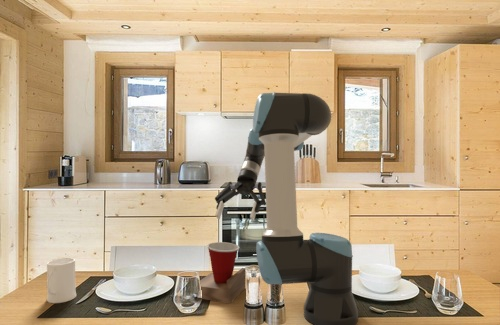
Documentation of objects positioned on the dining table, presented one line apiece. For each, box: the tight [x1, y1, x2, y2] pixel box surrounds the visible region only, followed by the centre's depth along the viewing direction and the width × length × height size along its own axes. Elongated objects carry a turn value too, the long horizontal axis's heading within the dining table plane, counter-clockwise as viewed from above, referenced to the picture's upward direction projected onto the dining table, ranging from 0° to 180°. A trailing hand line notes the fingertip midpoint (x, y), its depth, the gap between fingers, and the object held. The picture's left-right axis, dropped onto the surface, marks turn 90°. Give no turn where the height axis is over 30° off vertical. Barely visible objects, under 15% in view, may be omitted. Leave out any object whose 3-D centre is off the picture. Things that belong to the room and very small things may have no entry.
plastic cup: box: [206, 241, 240, 284], centre depth 121 cm, size 11×11×12 cm
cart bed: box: [199, 267, 246, 304], centre depth 121 cm, size 13×13×7 cm
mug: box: [46, 257, 77, 304], centre depth 116 cm, size 12×8×12 cm
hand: (234, 218), depth 132 cm, fingers open, 13 cm apart
